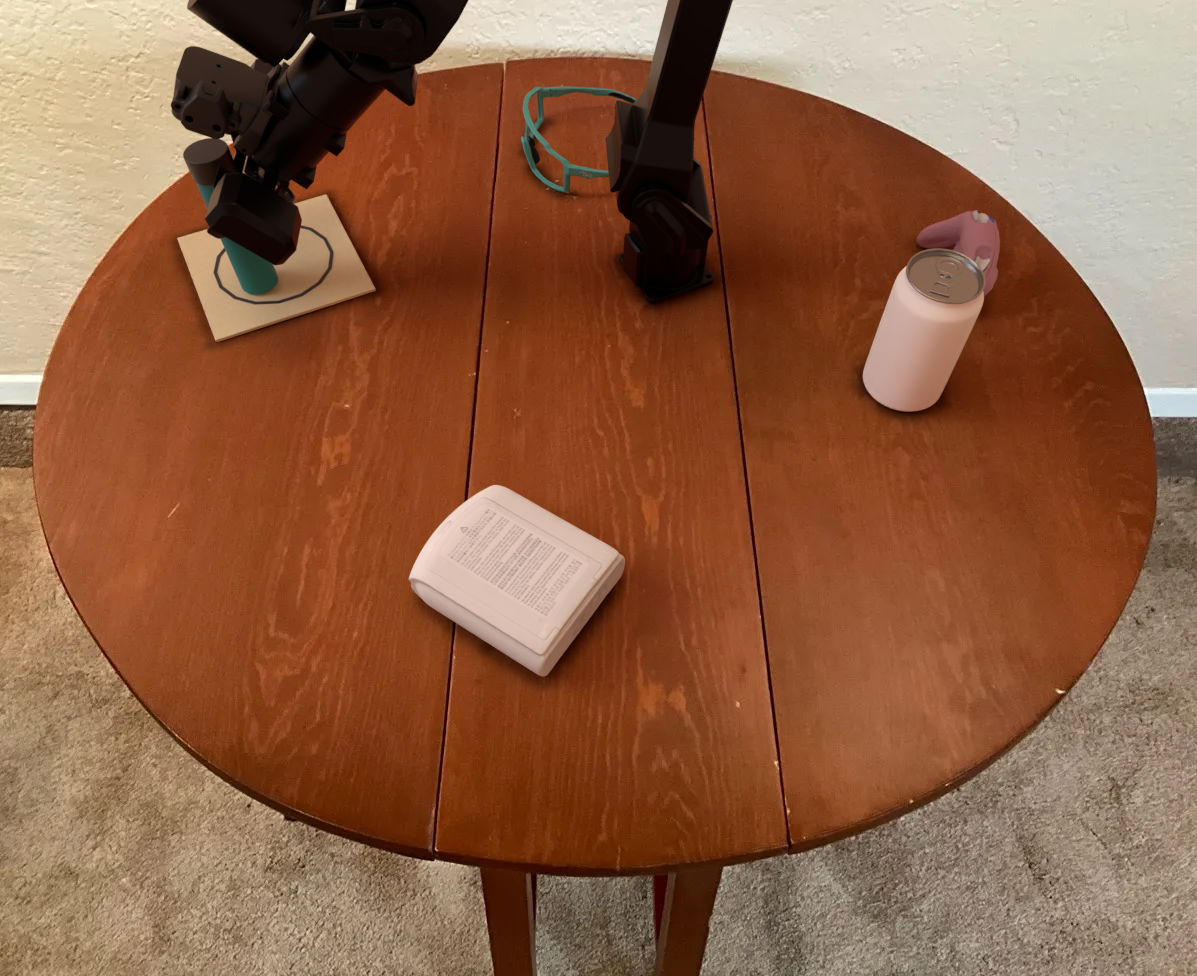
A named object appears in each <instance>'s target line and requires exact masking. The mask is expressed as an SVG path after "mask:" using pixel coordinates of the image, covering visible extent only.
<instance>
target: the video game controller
mask: <svg viewBox="0 0 1197 976" xmlns="http://www.w3.org/2000/svg"><path fill="white" fill-rule="evenodd" d="M916 243H917V244H918V246H919V247H921V248H923V249H926V250H927V249H935V248H941V249H947V248H953V249H952V250H953V251H956V252H959V253H962V254H964V255H966V256H968V257H969V258H971V259H972V260H973V261H975V262H976V263H977V264H978V265H979V266H980V268H981V269H982V271H983V273H984V275H985V280H986V283H985V288H984V290H983V292H984V297H986V296H987V295H988V294H989V293H990V292H991V290H992V289H994V285H995V283H996V282H997V279H998V276H999V269H998V267H997V265H998V261H999V256H1000V250H1001V249H1000V247H1001V237H1000V232H999V228H998V223H997V221H996V220H995V219H994V217H992V216H990V215H988V214H986V213H984V212H978V210H977V209H975V210H972V211H971V210H967V211H964V212H961V213H960V214H957V215H956V216H953V217H950V218H948V219H944V220H942V221H938V222H935V223H933V224H930V225H927V226H926V227H925V228H923V229H922V230H920V232H919V233H918V235H917V237H916Z"/></svg>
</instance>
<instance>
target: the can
mask: <svg viewBox="0 0 1197 976" xmlns="http://www.w3.org/2000/svg"><path fill="white" fill-rule="evenodd" d="M985 283H986V280H985V275H984V273H983V271H982V269H981V268H980V266H979V265H978V264H977V263H976V262H975V261H973V260H972V259H971V258H969V257H968V256H966V255H964V254H962V253H959V252H956V251H953V249H948V248H935V249H927V248H926V249H924V250H920V251H919V252H916V253H915V254H913V256H911V257H910V258H909V260H908V262H907V263H906V265H905V266H904V268H902V269H901V270H900V271H899V273H898V274H897V276H896V279H894V283H893V285H892V288H891V290H890V293H889V296H888V299H887V302H886V304H885V307H884V310H883V313H882V315H881V318H880V321H879V324H878V326H877V329H876V333H875V336H874V338H873V341H872V344H871V347H870V349H869V353H868V355H867V358H866V361H865V364H864V367H863V371H862V383H863V385H864V387H865V389H866V391H867V392H868V393H869V395H870V396H871V397H872V398H873V399H874V400H875V401H876V402H877V403H879V404H880V405H882V406H884V407H886V408H888V409H891V410H893V411H897V412H903V413H904V412H905V413H910V412H911V413H912V412H913V413H914V412H918V411H923V410H926V409H928V408H930V407H931V406H933V405H935V404H936V403H937V402H938V401H939V399H940V397H941V395H942V394H943V392H944V389H945V388H946V386H947V383H948V382H949V379H950V377H951V375H952V373H953V370H954V369H955V366H956V364H957V362H958V360H959V358H960V356H961V354H962V352H963V350H964V347H965V345H966V343H967V341H968V339H969V337H970V334H971V332H972V330H973V329H974V326H975V324H976V323H977V319H978V318H979V316H980V313H981V311H982V308H983V305H984V301H985V296H984V292H983V290H984V288H985Z"/></svg>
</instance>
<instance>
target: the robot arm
mask: <svg viewBox="0 0 1197 976" xmlns="http://www.w3.org/2000/svg"><path fill="white" fill-rule="evenodd" d="M468 2H469V0H355V4H354V5H355V6H354V8H353V9H349V10H348V9H347V10H346V7H347V3H348V0H188V1H187V4H186V9H187V10H188V11H189V12H191V13H192V14H193V15H195V16H196V17H198V18H199V19H201V20H202V21H203V22H205V23H206V24H208V25H209V26H211V27H212V28H213V29H215V30H216V31H218V32H219V33H220V34H222V35H224V36H225V37H227V38H228V39H229V40H231V41H232V42H233V43H235V44H236V45H238V46H239V47H241V49H243V50H245V51H246V52H248V53H249V54H250V55H252V56H253V57H255V59H254V61H253V62H252V64H251V65H248V64H247V63H245V62H242V61H240V60H237V59H234V58H232V57H229V56H226V55H223V54H220V53H218V52H215V51H213V50H209V49H207V48H204V47H202V46H201V47H200V46H197V45H191V46H187V47H185V48H184V50H183V53H182V56H181V59H180V61H179V65H178V67H177V71H176V74H175V81H174V87H173V88H174V89H173V97H172V99H171V102H170V108H171V114H172V116H173V117H174V118H175V119H176V120H178V121H180V124H181V125H182V126H183V128H184V129H185V130H187V131H189V132H193V133H196V134H199V135H201V136H204V137H207V138H214V139H223V138H224V137H225V135H228V136H230V137H231V140H232V144H233V147H232V148H233V149H234V150H235V151H234V153H233V155H232V157H233V160H234V163H235V165H236V171H237V173H231V172H229V171H228V170H226V169H225V168H223V167H221V166H220V165H219V167H218V170H217V174H216V178H215V181H214V185H213V190H214V191H213V193H212V195H211V198H210V202H209V205H208V209H207V208H206V213H205V216H204V221H205V222H206V224H207V233H208V234H210V235H212V236H213V237H215V238H217V239H221V238H228V239H230V240H231V241H233V242H235V243H237V244H238V245H240V246H242V247H244V248H245V249H247V250H249V251H251V252H252V253H254V254H256V255H258V256H259V257H261V258H263V259H265V260H266V261H268V262H270V263H272V264H273V265H281V264H284V263H285V262H286V261H287V260H288V259H289V257H290V256H291V255H292V254H293V253H294V252H295V251H296V249H297V244H298V238H299V233H300V228H301V223H302V219H301V215H300V212H299V209H298V206H296V205H295V203H296V195H295V192H293V190H291V188H290V185H291V181H292V182H294V183H296V184H297V185H299V186H300V187H302V188H303V189H305V190H308V189H309V188H310V187H311V186H312V185H313V183H314V182H315V178H316V173H317V167H318V165H319V164H320V163H321V162H322V161H323V159H324V158H325V157H326V156H327V155H328V154H329V153H330V154H332V155H333V156H334V157H336V158H337V157H338V156H339V155H340V154H341V153H342V151H344V149H345V145H346V141H347V134H348V132H349V131H350V129H352V127H353V126H354V125H355V124H356V122H357V121H358V120H359V119H361V117H362V116H363V115H364V114H365V113H366V112H367V110H368V109H369V108H370V107H371V106H372V105H373V104H374V102H375V101H376V100H377V99H378V98H379V97H380V96H381V95H382V94H383V92H384V91H387V92H388V93H390V94H391V95H393V96H394V97H395V98H397V99H398V100H399V101H400V102H402V103H403V104H405V105H406V106H408V107H413V106H414V105H415V104H416V99H417V89H418V79H419V78H418V77H419V76H418V71H417V69H416V65H419V64H422V63H423V62H425V61H427V60H428V59H429V58H432V57H433V55H434V54H435V53H436V52H437V50H438V49H439V47H440V46H441V45H442V43H443V42H444V41H445V39H446V38H447V36H448V35H449V34H450V32H451V31H452V29H453V28H454V27H455V25H456V24H457V23H458V21H459V20H460V17H461V16H462V15H463V12H464V10H465V9H466V6H467V5H468ZM733 2H734V0H667V2H666V6H665V10H664V14H663V18H662V21H661V25H660V29H659V33H658V37H657V39H656V40H657V41H656V44H655V48H654V52H653V56H652V60H651V64H650V67H649V72H648V76H647V79H646V83H645V86H644V88H643V91H642V92H641V94H640V95H639V96H638V97H637V98H636V99H637V100H636V101H635V102H634V103H633V104H631V103H629V102H627V101H623V100H620V99H617V100H615V105H614V109H615V110H614V122H613V125H612V127H611V130H610V132H609V133H608V135H607V136H606V137H605V149H606V150H605V151H606V157H607V158H606V159H607V160H606V161H607V169H608V170H607V171H608V172H609V177H608V181H609V191H610V193H613V194H614V193H615V197H616V206H617V210H618V212H619V213H620V214H621V215H622V216H623V217H624V218H625V220H627V221H629V222H628V223H629V224H628V232H626V233H625V234H624V236H623V252H622V253H620V254H619V255H618V262H619V264H620V265H621V267H622V271H623V272H624V273H625V275H626V276H627V277H628V279H629V280H630V282H631V283H632V284H633V286H634V287H635V288H638V290H639V291H640V292H641V294H642V295H643V297H645V299H646V300H647V302H648V303H649V304H651V305H652V304H653V305H655V304H658V303H661V302H665V301H667V300H669V299H672V298H676V297H678V296H681V295H683V294H684V295H685V294H687V293H689V292H692V291H695V290H698V289H701V288H703V287H706V286H710V285H712V284H713V283H714V280H715V275H714V274H713V273H712V271H711V270H710V268H708V266H707V265H706V262H707V256H708V255H707V254H708V247H709V242H710V241H709V240H710V239H711V236H712V235H713V233H714V228H713V222H712V217H713V216H712V215H711V211H710V210H711V209H710V207H709V206H710V205H709V199H708V194H707V188H706V182H705V176H704V172H703V165H702V163H701V162H700V161H699V160H697V159H696V158H695V157H694V155H695V154H694V153H695V152H694V151H695V126H696V120H697V116H698V114H699V113H698V112H699V110H700V106H701V103H702V100H703V97H704V93H705V91H706V87H707V84H708V81H709V78H710V75H711V73H712V72H711V71H712V68H713V65H714V62H715V58H716V55H717V53H718V49H719V46H720V43H721V39H722V36H723V33H724V31H725V27H726V24H727V20H728V18H729V15H730V12H731V8H732V5H733ZM310 34H311V35H312V37H311V38H310V39H309V40H308V42H307V43H306V44H305V45H304V47H303V48H302V49H301V50H300V48H301V47H302V45H303V44H304V42H305V41H306V39H307V38H308V37H309V35H310ZM299 50H300V52H299V53H298V55H296V54H297V52H298V51H299ZM294 55H296V56H295V58H294V59H293V61H291V63H290V64H288V63H287V62H289V60H291V59H292V58H293V57H294ZM283 60H285V61H283Z"/></svg>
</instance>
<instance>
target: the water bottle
mask: <svg viewBox="0 0 1197 976" xmlns="http://www.w3.org/2000/svg"><path fill="white" fill-rule="evenodd" d="M182 158H183V160H184V163H185V165H186V167H187V169H188V171H189V174H190V176H191V178H192V179H193V182H195V184H196V186H197V189H198V191H199V193H200V195H201V198H202V201H203V203H204V205H205V207H206V210H207V209H208V205H209V202H210V198H211V195H212V193H213V191H214V190H213V185H214V181H215V178H216V174H217V170H218V167H219V165H220V166H221V167H223V168H225V169H226V170H228V171H229V172H231V173H237V171H236V165H235V163H234V160H233V155H232V153H231V150H230V148H229V145H228V143H227V142H226V141H225V140H223V139H222V138H220V139H214V138H210V137H207V138H202V139H199V140H197V141H194V142H192V143H191V144H189V145H188V146H187V147H186V148H184V150H183V153H182ZM221 241H222V244H223V246H224V248H225V250H226V253H227V255H228V257H229V260H230V262H231V264H232V266H233V269H234V271H235V273H236V276H237V278H238V280H239V282H240V285H241V287H242V289H243V290H244V291H245V292H247V293H250V294H261V293H265V292H267V291H269V290H271V289H272V288H274V287H275V285H276V284H277V282H278V275H277V273H276V270H275V268H274V265H273V264H272V263H270V262H268V261H266V260H265V259H263V258H261V257H259V256H258V255H256V254H254V253H252V252H251V251H249V250H247V249H245V248H244V247H242V246H240V245H238V244H237V243H235V242H233V241H231V240H230V239H228V238H221Z"/></svg>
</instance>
